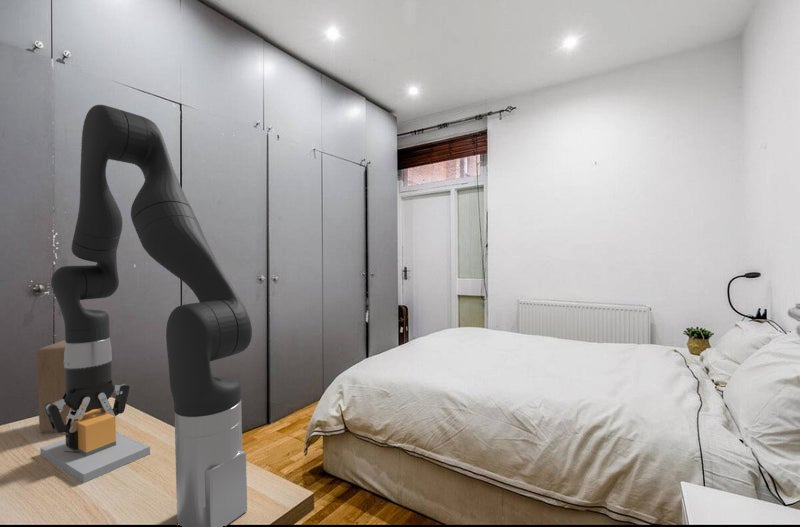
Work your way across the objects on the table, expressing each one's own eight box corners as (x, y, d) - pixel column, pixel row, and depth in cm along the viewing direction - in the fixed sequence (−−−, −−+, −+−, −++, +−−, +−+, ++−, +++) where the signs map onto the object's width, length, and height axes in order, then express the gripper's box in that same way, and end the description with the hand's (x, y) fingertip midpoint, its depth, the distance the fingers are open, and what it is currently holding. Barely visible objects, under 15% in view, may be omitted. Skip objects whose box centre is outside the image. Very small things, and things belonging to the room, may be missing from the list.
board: (150, 453, 75) (150, 446, 75) (83, 482, 66) (83, 474, 66) (104, 432, 85) (103, 425, 85) (40, 454, 76) (40, 447, 76)
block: (37, 435, 84) (34, 349, 84) (64, 417, 94) (61, 339, 93) (89, 429, 87) (86, 345, 86) (110, 412, 96) (107, 336, 96)
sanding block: (116, 444, 76) (115, 416, 76) (86, 456, 72) (85, 426, 72) (95, 435, 81) (95, 408, 80) (66, 445, 76) (65, 417, 76)
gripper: (50, 374, 68) (53, 464, 68) (136, 355, 80) (138, 432, 81) (34, 368, 72) (37, 454, 72) (119, 351, 84) (121, 424, 84)
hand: (91, 442), depth 76 cm, fingers closed on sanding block, 5 cm apart
